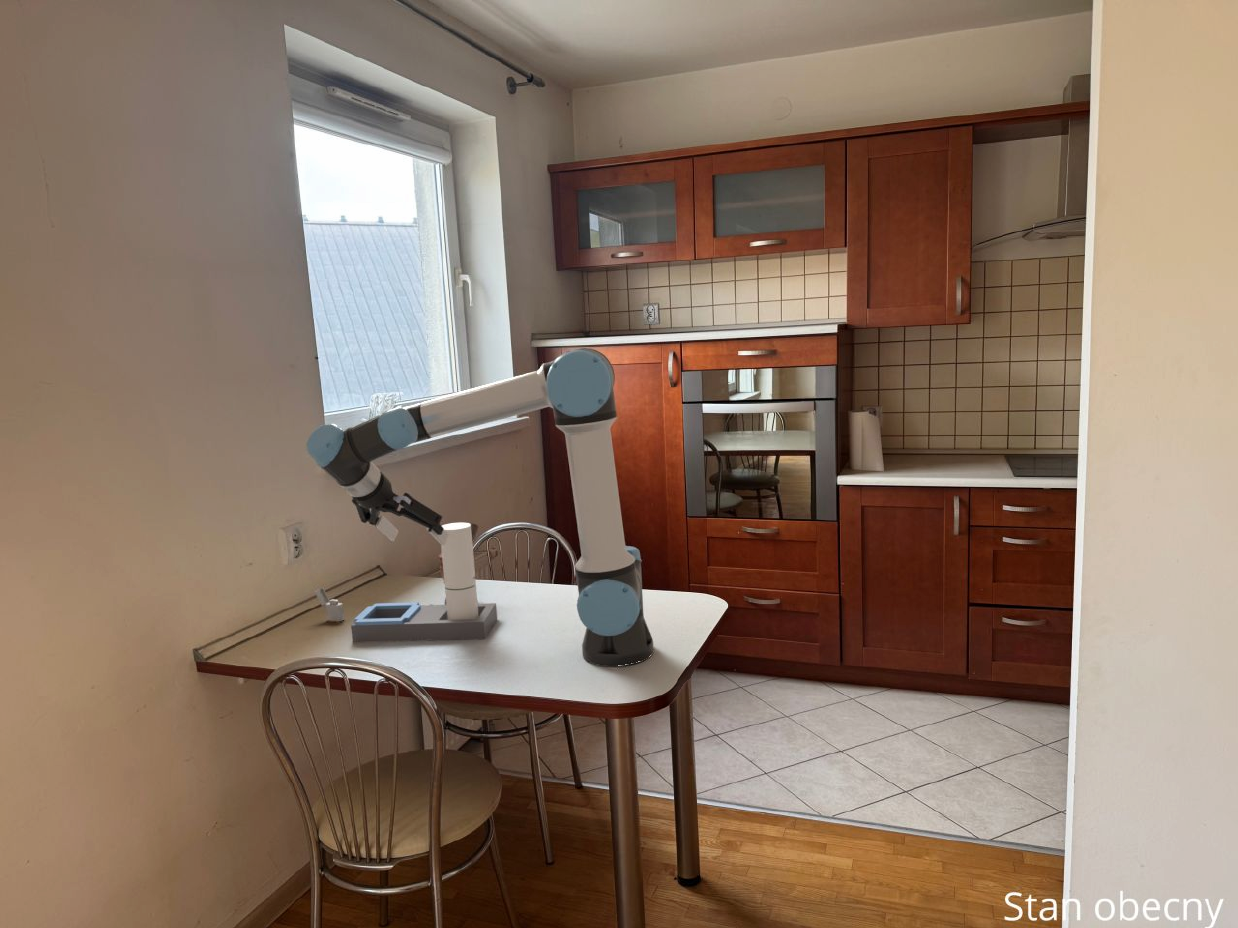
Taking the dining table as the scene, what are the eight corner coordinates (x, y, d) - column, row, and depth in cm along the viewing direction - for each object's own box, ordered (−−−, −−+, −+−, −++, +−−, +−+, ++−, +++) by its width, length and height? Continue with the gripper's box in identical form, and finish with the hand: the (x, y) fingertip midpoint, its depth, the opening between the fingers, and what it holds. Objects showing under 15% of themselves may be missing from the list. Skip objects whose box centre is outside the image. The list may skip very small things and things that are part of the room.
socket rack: (497, 618, 205) (495, 599, 204) (484, 638, 192) (483, 618, 191) (373, 622, 208) (371, 603, 207) (352, 641, 195) (350, 622, 194)
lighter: (344, 619, 211) (341, 588, 209) (340, 622, 209) (336, 591, 208) (322, 617, 214) (319, 586, 212) (318, 619, 212) (314, 588, 211)
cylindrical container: (482, 623, 202) (474, 522, 198) (475, 634, 195) (466, 529, 191) (453, 624, 203) (444, 522, 199) (445, 634, 196) (435, 530, 192)
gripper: (310, 496, 172) (368, 549, 188) (408, 501, 162) (460, 556, 177) (326, 466, 176) (381, 520, 192) (423, 469, 166) (473, 526, 181)
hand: (419, 538), depth 185 cm, fingers open, 13 cm apart
